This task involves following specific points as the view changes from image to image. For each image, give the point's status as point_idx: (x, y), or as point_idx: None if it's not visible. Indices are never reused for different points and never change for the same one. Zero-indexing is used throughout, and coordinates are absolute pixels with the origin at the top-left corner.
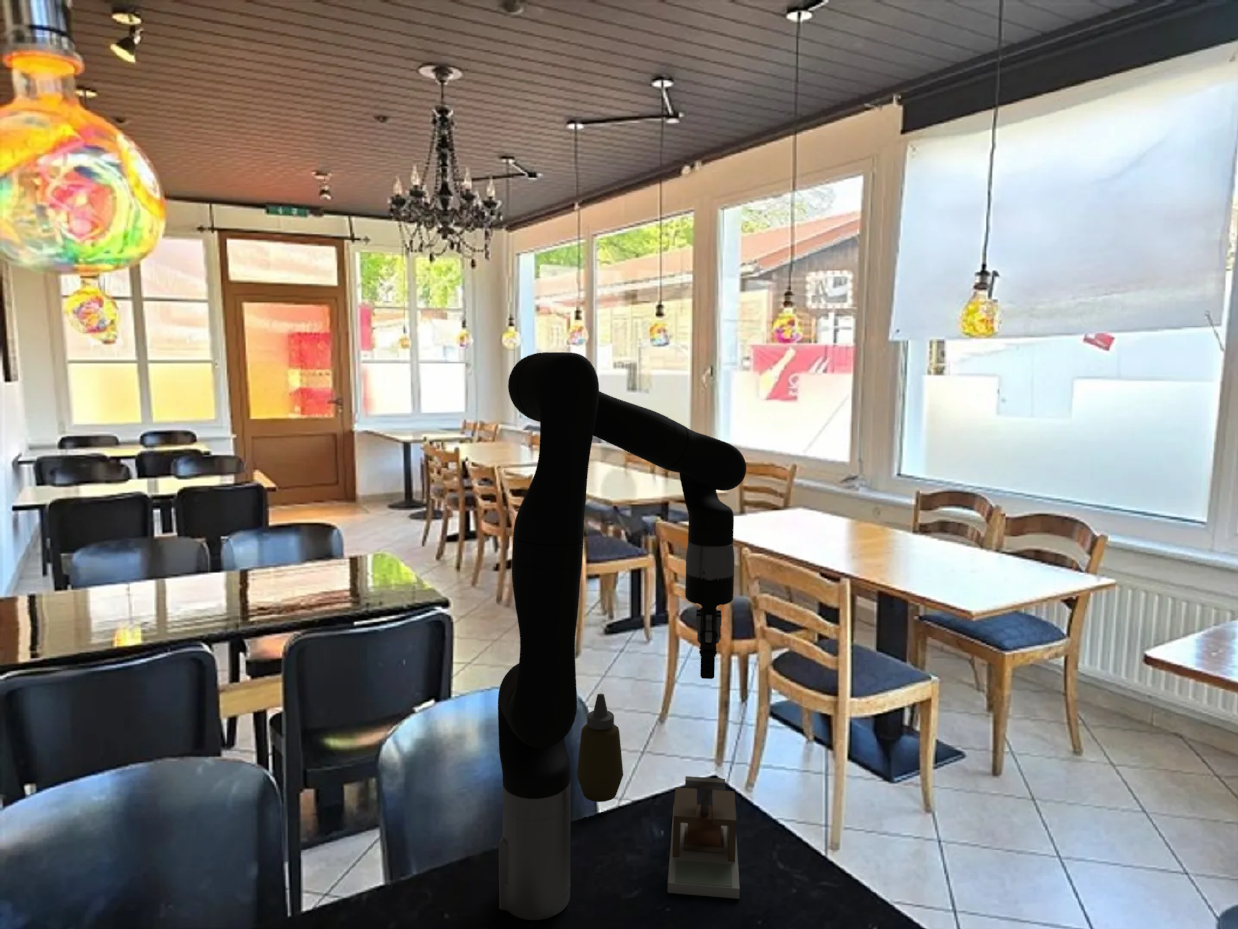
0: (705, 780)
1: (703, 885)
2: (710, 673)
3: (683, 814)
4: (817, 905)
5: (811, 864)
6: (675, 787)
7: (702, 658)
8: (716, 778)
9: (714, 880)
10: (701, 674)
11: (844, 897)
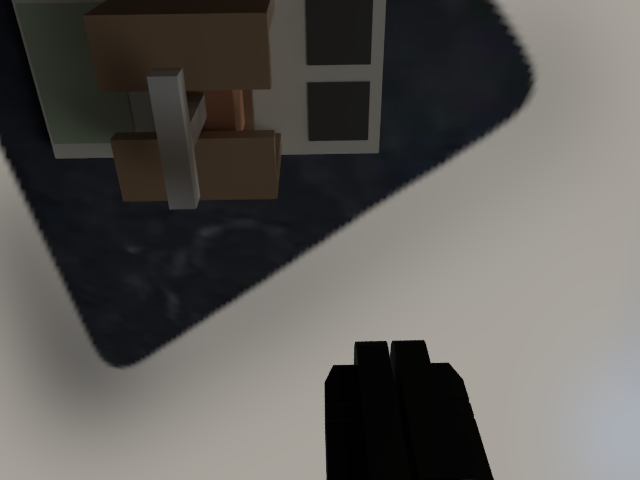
0: (166, 147)
1: (33, 78)
2: (325, 423)
3: (101, 50)
4: (101, 282)
5: (225, 284)
6: (265, 13)
7: (368, 468)
8: (190, 182)
9: (60, 104)
10: (357, 359)
11: (140, 323)
